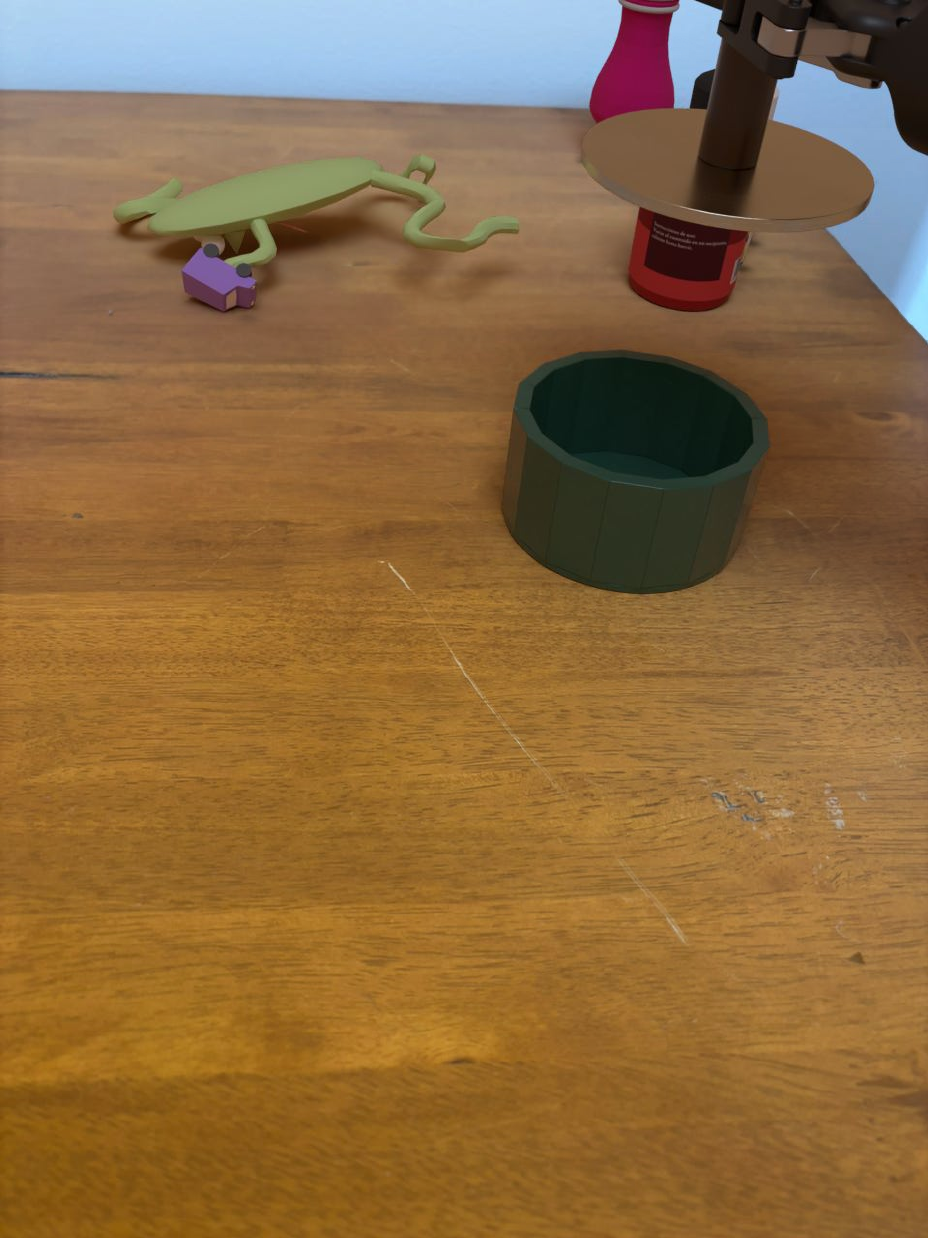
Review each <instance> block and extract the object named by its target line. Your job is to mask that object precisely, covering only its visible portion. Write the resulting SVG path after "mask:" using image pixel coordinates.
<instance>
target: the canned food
mask: <svg viewBox="0 0 928 1238" xmlns="http://www.w3.org/2000/svg"><path fill="white" fill-rule="evenodd" d="M747 235H748V231H739V230H730V229H722V228H716V227H710V226H704V225H700V224H695V223H690V222H686V221H682V220H679V219H675V218H671V217H667V216H664V215H661V214H658V213H655V212H652V211H649V210H647V209H644V208H642V207H639V206H638V213H637V219H636V224H635V230H634V235H633V240H632V245H631V246H632V247H631V252H630V257H629V264H628V277H629V283H630V285H631V287H632V288H633V290H634V291H635V292H636V293H637V294H638V295H639V296H640V297H642V298H643V299H645V300H647V301H649V302H651V303H653V304H656V305H658V306H660V307H665V308H669V309H673V310H679V311H687V312H688V311H689V312H700V311H706V310H707V311H709V310H712V309H714V308H717V307H719V306H721V305H723V304H724V303H725V302H726V301H727V300H728V299H729V297H730V296H731V294H732V292H733V290H734V288H735V285H736V282H737V279H738V275H739V274H738V273H739V269H740V266H741V263H742V262H741V258H742V255H743V251H744V247H745V243H746V239H747ZM740 262H741V263H740Z"/></svg>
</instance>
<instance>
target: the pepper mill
mask: <svg viewBox="0 0 928 1238" xmlns="http://www.w3.org/2000/svg"><path fill="white" fill-rule="evenodd" d="M617 1H618V3H619V4H620V6H621V15H620V22H619V27H618V31H617V36H616V38H615V40H614V43H613V47H612V49H611V51H610V53H609V54H608V56H607V59H606V60H605V62H604V63H603V65H602V67H601V69H600V71H599V73H598V75H597V76H596V79H595V81H594V83H593V86H592V89H591V93H590V99H589V102H588V103H589V104H588V108H589V112H590V114H591V117H592V119H593V120H594V123H596V124H598V123H599V122H601V121H604V120H606V119H608V118H611V117H614V116H617V115H620V114H625V113H629V112H635V111H641V110H651V109H667V108H675V85H674V80H673V76H672V69H671V64H670V58H669V56H670V55H669V54H670V53H669V39H670V29H671V24H672V21H673V20H672V19H673V17H674V13H675V12H678V10H679V9H680V6H681V5H680V0H617Z"/></svg>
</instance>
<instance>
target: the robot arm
mask: <svg viewBox="0 0 928 1238" xmlns="http://www.w3.org/2000/svg"><path fill="white" fill-rule="evenodd" d="M694 1H695V2H697V3H700V4H703V5H705V6H707V7H710V8H714V9H716V10H719V11H721V14H720V15H721V16H720V19H719V20H718V25H717V30H716V34H717V35H718V37H720V38H721V40H722V39H724V40H725V41H726V42H727V43H728V44H730V45H731V46H732V47H733V48H734V49H735V50H737V51H738V52H739V53H740V54H741V55H743V56H744V57H745V58H746V59H747V60H748V61H750V62H751V63H752V64H753V65H754V66H756V67H757V68H758V69H759V70H760V71H761V72H763V73H764V74H766V75H768V76H770V77H771V78H773V79H778V81H779V80H780V81H781V80H782V81H783V80H784V79H791V78H795V74H796V70H797V66H798V62H799V61H800V62H803V63H807V64H809V65H813V66H815V67H818V68H822V69H825V70H827V71H828V70H829V71H831V72H832V73H834V75H835V77H836V78H837V79H838V80H839V81H840V82H842V83H845V84H849V85H851V86H852V85H853V86H855V87H859V88H861V89H867V90H878V89H881V88H882V85H883V83H884V84H885V85H886V88H887V90H888V92H889V95H890V98H891V103H892V109H893V117H894V118H893V119H894V123H895V126H896V129H897V132H898V134H899V136H900V138H901V140H902V141H903V142H904V143H905V144H906V145H907V146H908V147H909V148H910V149H911V150H913V151H915V152H917V153H919V154H922V155H924V156H926V157H928V0H694Z"/></svg>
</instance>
